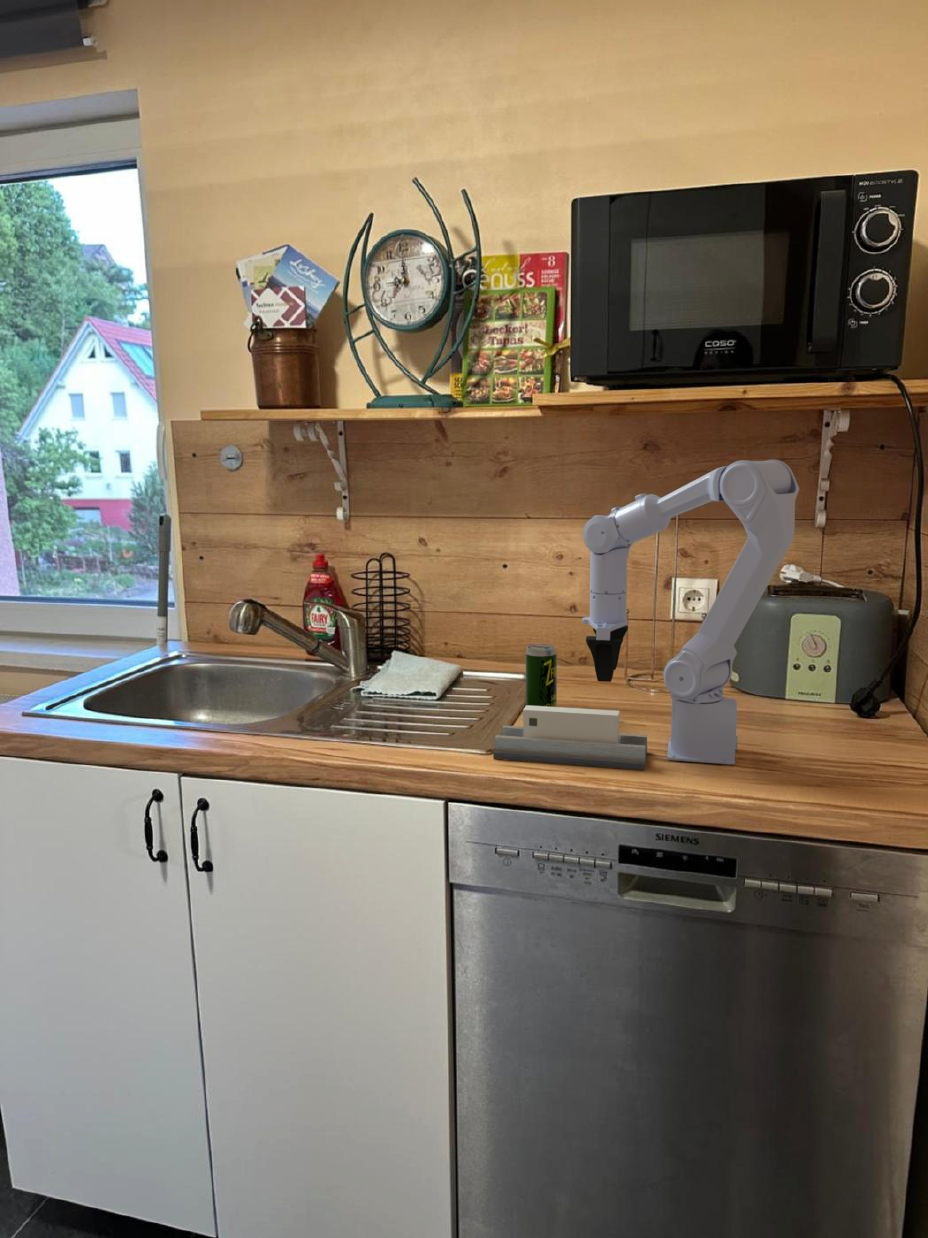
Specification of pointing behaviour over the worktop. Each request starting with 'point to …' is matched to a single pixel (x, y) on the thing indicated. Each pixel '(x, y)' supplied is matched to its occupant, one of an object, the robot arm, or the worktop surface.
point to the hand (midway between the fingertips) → (607, 675)
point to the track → (572, 750)
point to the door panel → (571, 724)
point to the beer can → (541, 675)
